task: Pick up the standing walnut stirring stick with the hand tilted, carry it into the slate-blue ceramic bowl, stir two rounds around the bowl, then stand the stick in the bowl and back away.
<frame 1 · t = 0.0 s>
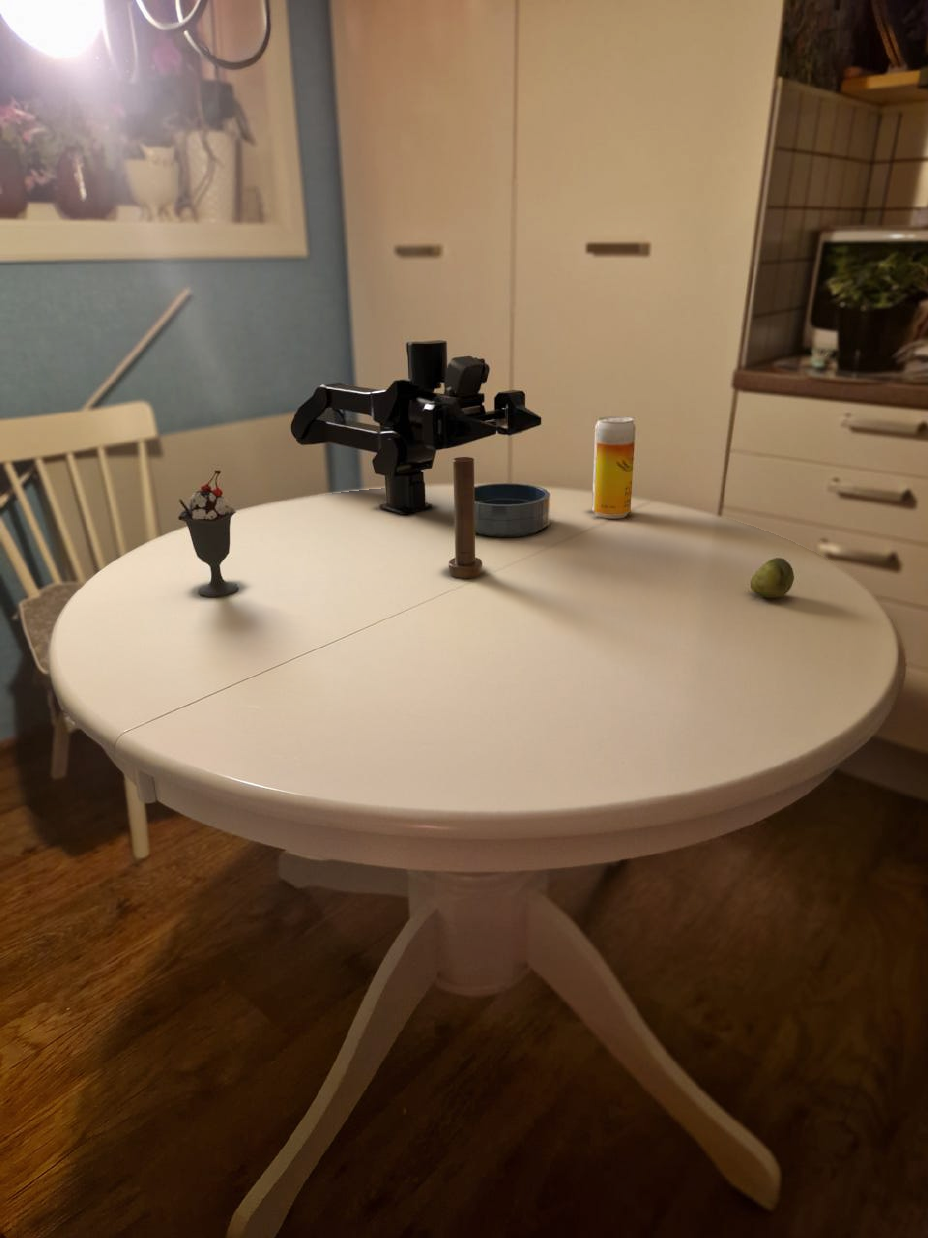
hand: (518, 425, 120), 17 cm above the table, tool horizontal, fingers open, 9 cm apart
sundae: (218, 591, 109), on the table
beer can: (610, 515, 138), on the table
bowl: (505, 525, 133), on the table
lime: (770, 599, 103), on the table
stick: (465, 572, 113), on the table
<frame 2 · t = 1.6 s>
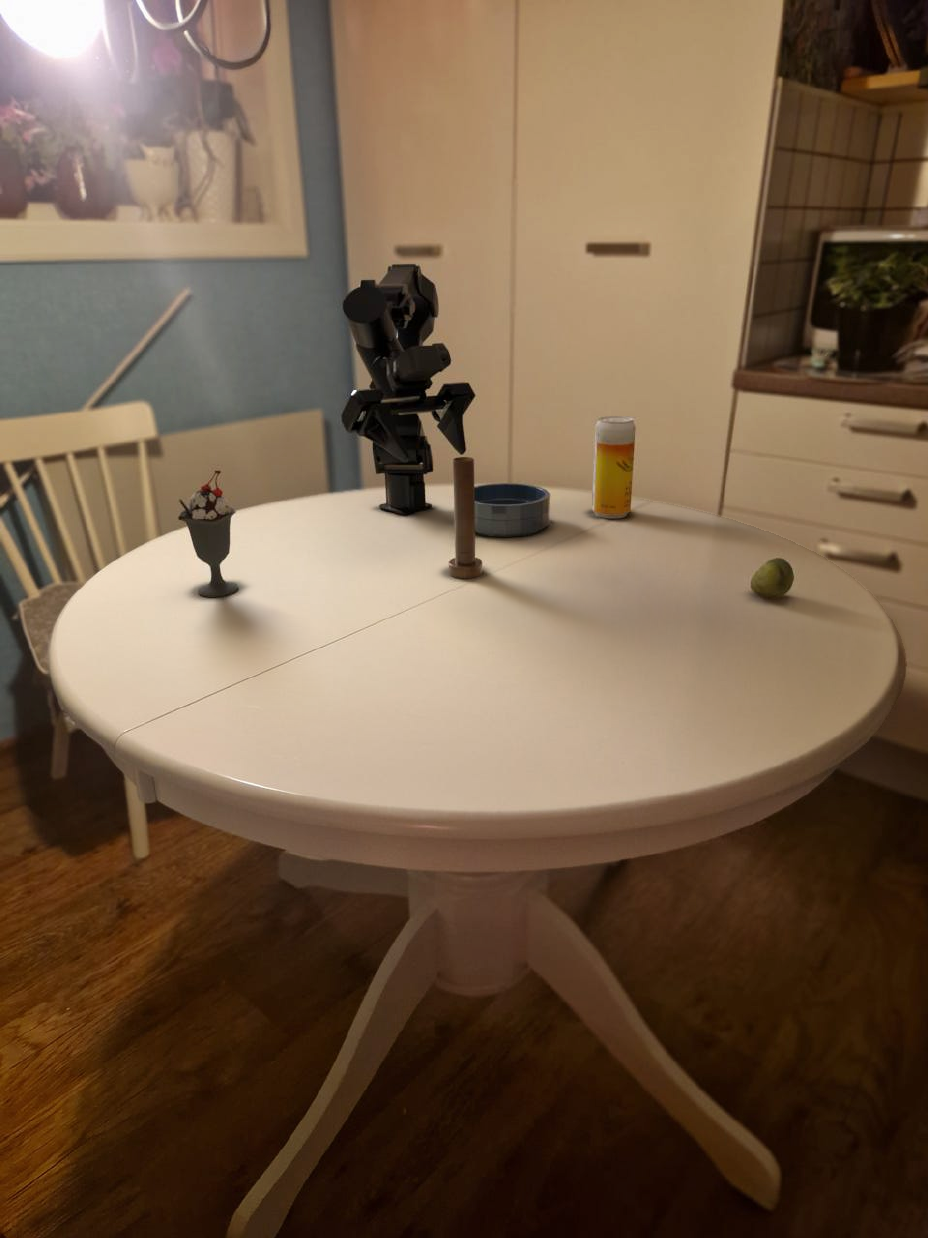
hand: (435, 456, 114), 14 cm above the table, tool tilted 45°, fingers open, 9 cm apart
nothing on the table moved.
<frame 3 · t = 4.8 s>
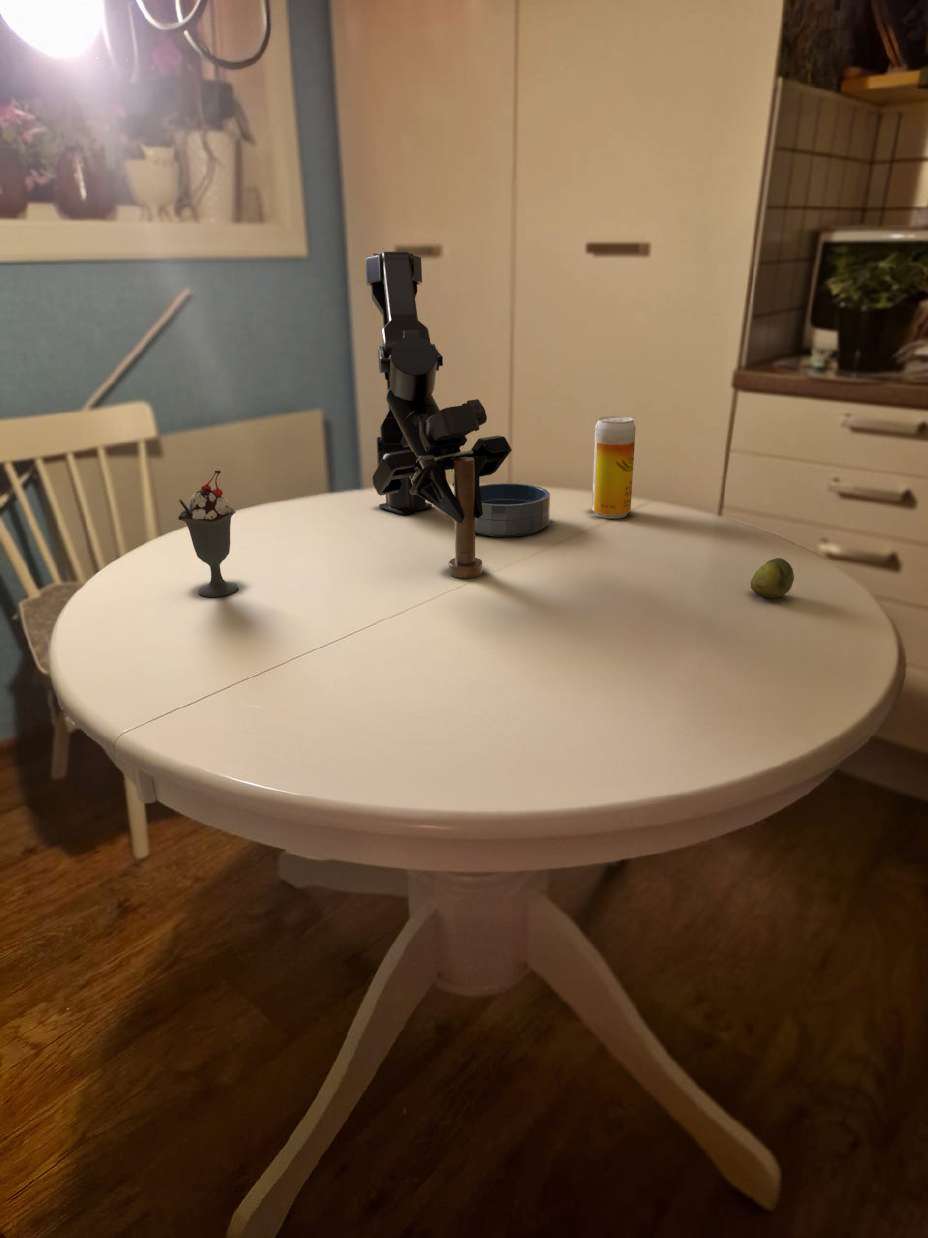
hand: (471, 519, 109), 8 cm above the table, tool tilted 45°, fingers closed on stick, 2 cm apart
stick: (465, 572, 113), on the table, touching gripper
everything else where it was.
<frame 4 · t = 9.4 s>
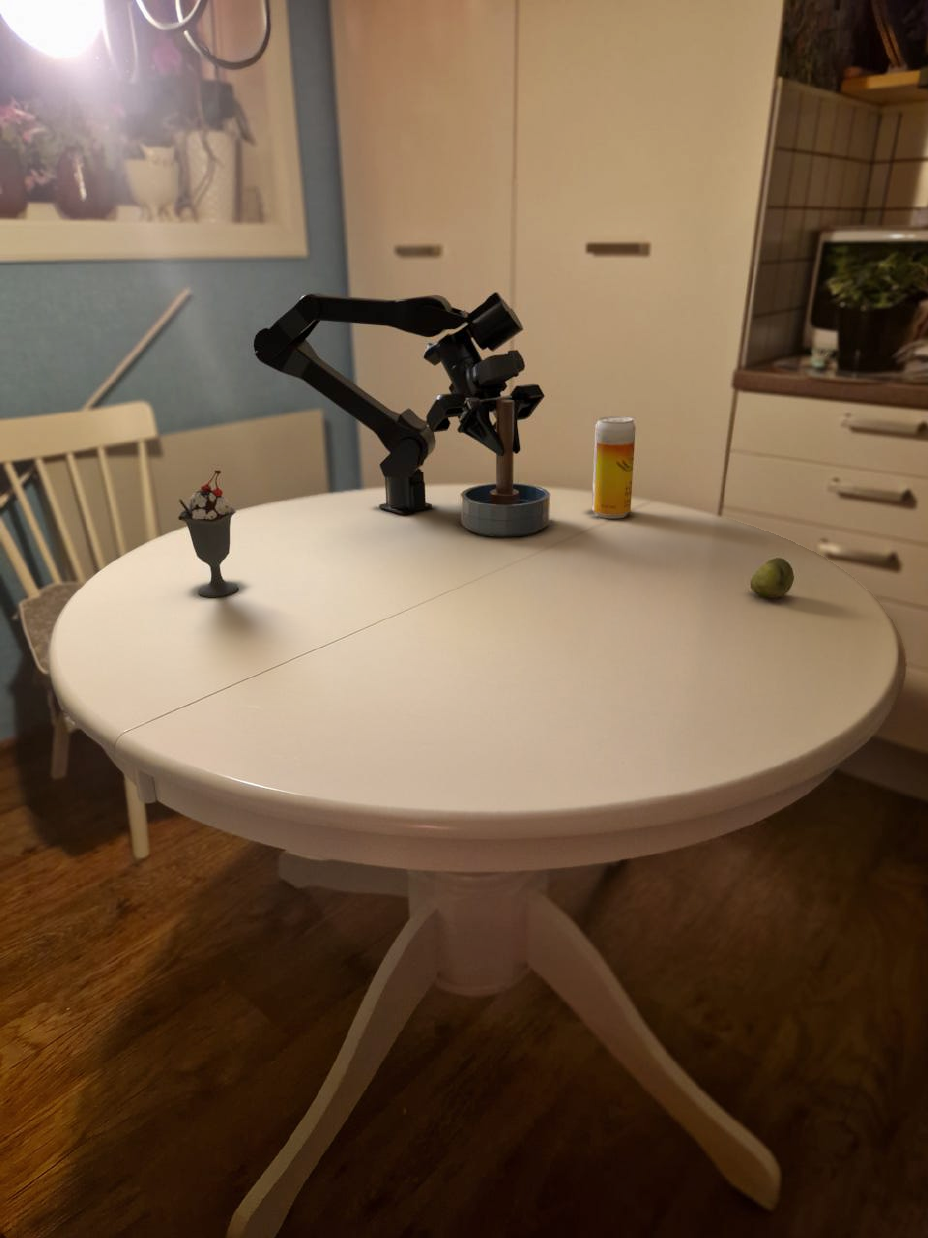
hand: (510, 453, 127), 11 cm above the table, tool tilted 45°, fingers closed on stick, 2 cm apart
stick: (504, 501, 131), point 4 cm above the table, touching gripper
everything else where it was.
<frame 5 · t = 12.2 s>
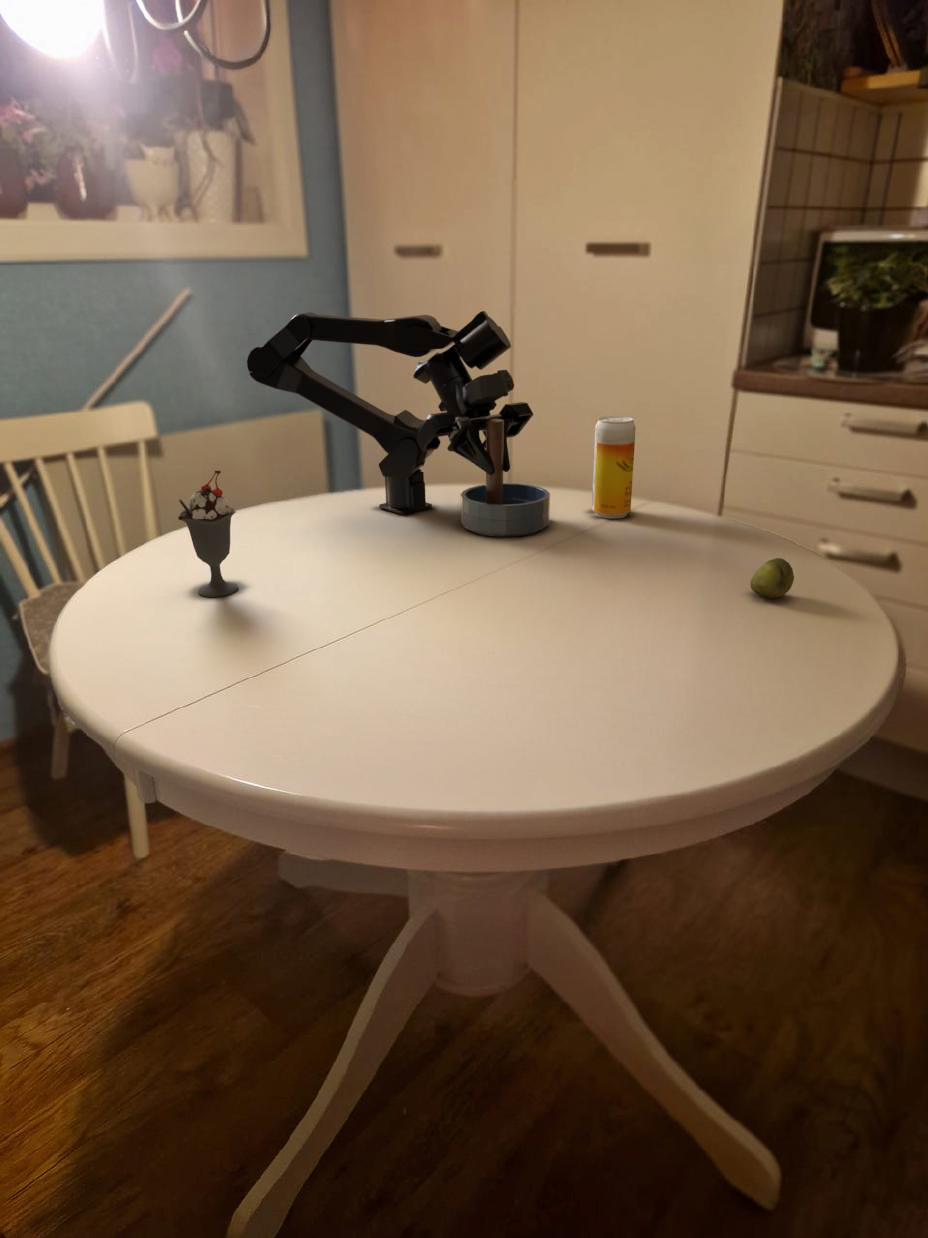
hand: (500, 471, 128), 9 cm above the table, tool tilted 45°, fingers closed on stick, 2 cm apart
stick: (494, 519, 132), point 1 cm above the table, touching gripper
everything else where it was.
when the fingers open (8 cm above the table, at t = 14.1 s): stick stays where it is, resting on bowl.
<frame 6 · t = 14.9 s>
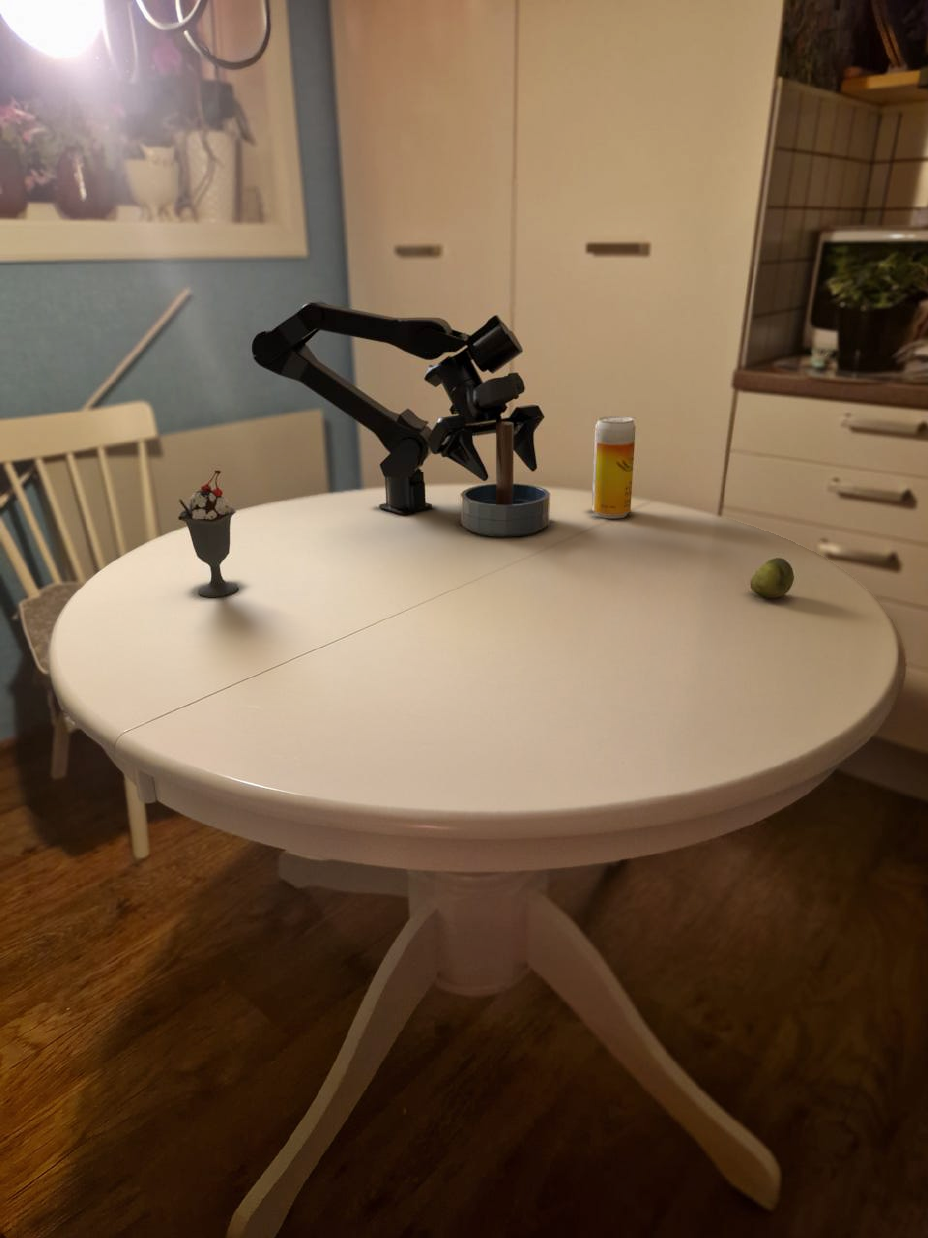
hand: (511, 474, 129), 8 cm above the table, tool tilted 45°, fingers open, 9 cm apart
stick: (504, 521, 133), point 1 cm above the table, touching bowl
everything else where it was.
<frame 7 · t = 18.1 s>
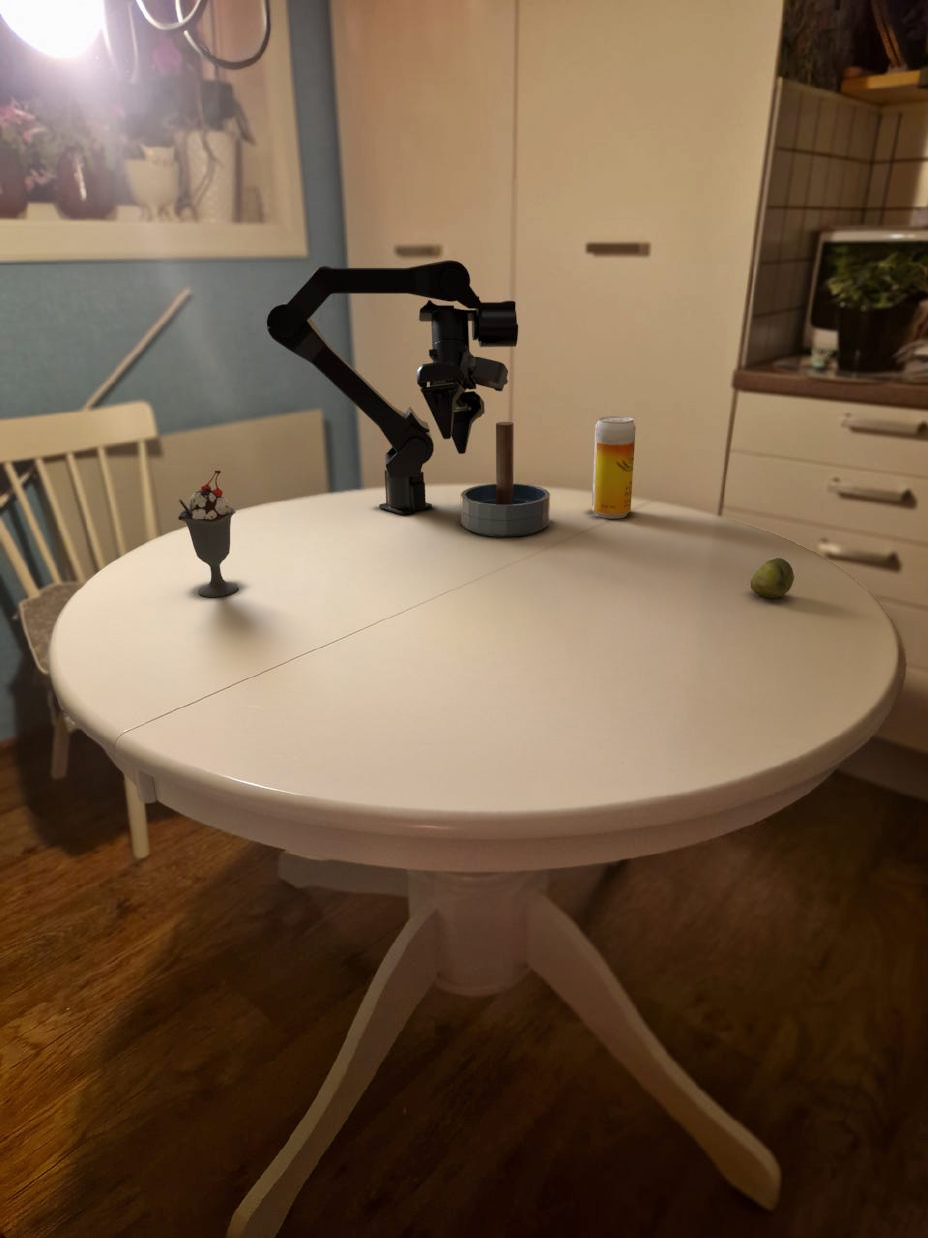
hand: (454, 446, 132), 12 cm above the table, tool tilted 25°, fingers open, 9 cm apart
nothing on the table moved.
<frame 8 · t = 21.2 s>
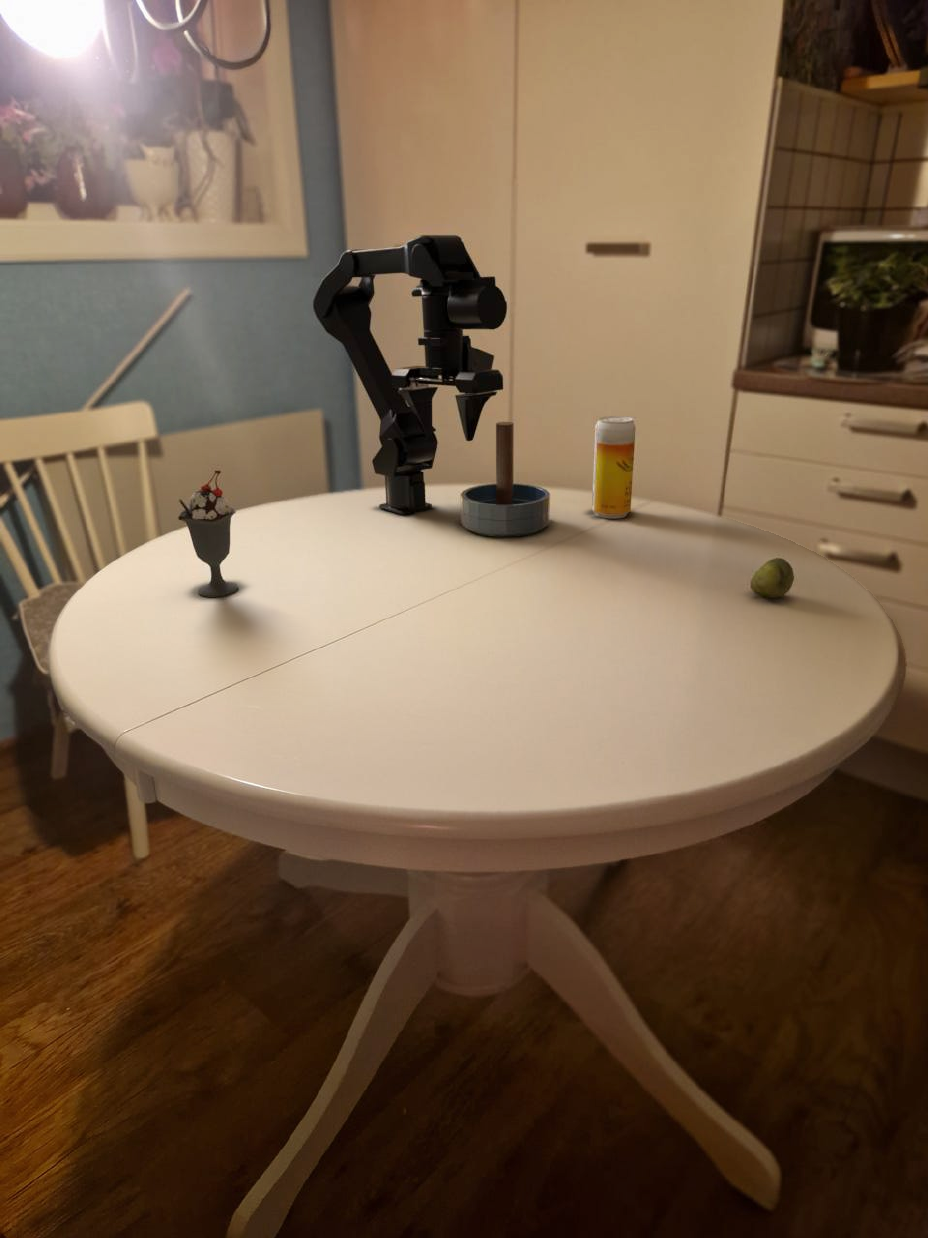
hand: (448, 437, 131), 13 cm above the table, tool pointing down, fingers open, 9 cm apart
nothing on the table moved.
at the end: stick inside the target area in the bowl (0.1 cm from its centre), point 0.6 cm above the bowl's base; stick tilted 0°; the gripper is holding nothing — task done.
